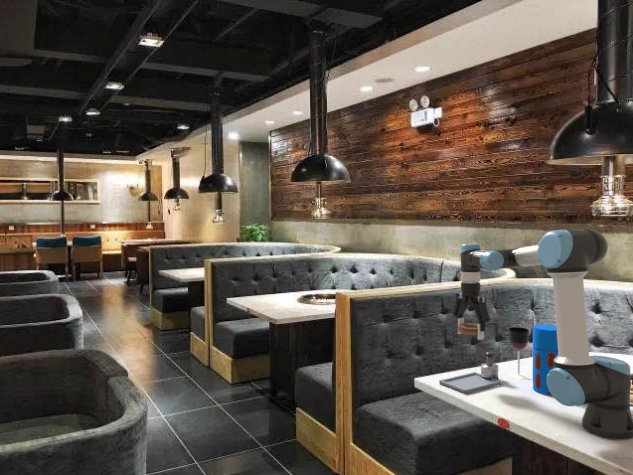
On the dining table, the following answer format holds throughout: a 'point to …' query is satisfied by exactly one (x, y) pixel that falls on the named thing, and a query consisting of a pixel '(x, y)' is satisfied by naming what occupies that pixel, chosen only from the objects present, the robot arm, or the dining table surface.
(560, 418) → the dining table surface
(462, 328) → the ring
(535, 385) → the thermos
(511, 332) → the wineglass
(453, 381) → the tray
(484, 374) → the metal peg stand
